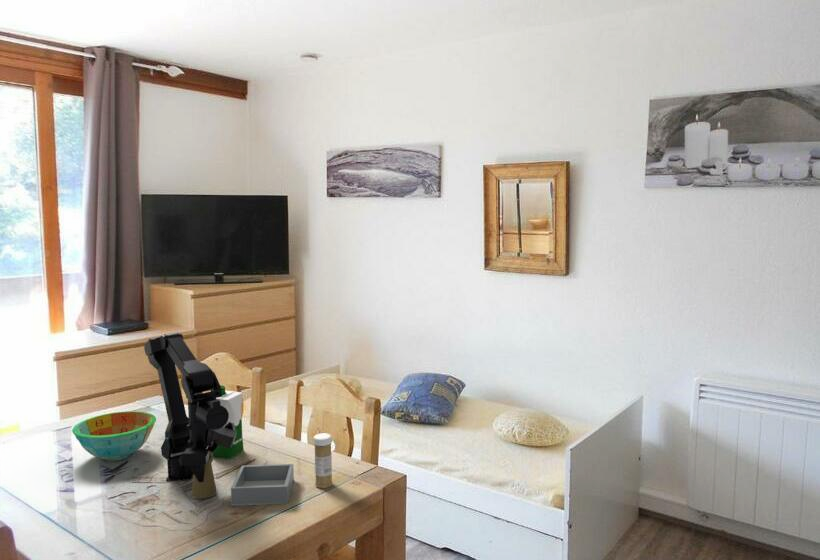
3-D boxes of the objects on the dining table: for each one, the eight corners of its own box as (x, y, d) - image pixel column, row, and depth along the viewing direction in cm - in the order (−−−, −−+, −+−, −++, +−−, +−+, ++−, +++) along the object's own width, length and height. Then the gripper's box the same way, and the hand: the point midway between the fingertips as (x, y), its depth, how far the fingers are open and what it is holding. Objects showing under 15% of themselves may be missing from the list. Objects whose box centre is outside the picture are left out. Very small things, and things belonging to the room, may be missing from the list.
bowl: (56, 464, 181) (53, 430, 180) (118, 437, 201) (116, 407, 200) (115, 476, 173) (113, 441, 171) (174, 447, 193) (172, 415, 192)
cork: (209, 499, 158) (207, 457, 157) (187, 497, 159) (184, 455, 158) (220, 488, 164) (219, 447, 163) (199, 486, 165) (197, 446, 164)
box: (231, 506, 155) (230, 488, 155) (242, 481, 169) (241, 465, 168) (287, 503, 156) (287, 486, 156) (293, 479, 170) (293, 463, 169)
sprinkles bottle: (329, 480, 170) (328, 431, 168) (334, 486, 166) (333, 437, 164) (312, 483, 168) (311, 434, 166) (318, 490, 164) (316, 440, 162)
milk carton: (222, 446, 194) (220, 382, 191) (248, 449, 191) (245, 385, 189) (204, 457, 186) (201, 390, 183) (231, 461, 183) (228, 393, 180)
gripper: (225, 430, 150) (227, 493, 152) (240, 405, 169) (242, 462, 171) (177, 432, 150) (180, 495, 152) (197, 407, 168) (200, 463, 170)
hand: (203, 477), depth 161 cm, fingers closed on cork, 4 cm apart
